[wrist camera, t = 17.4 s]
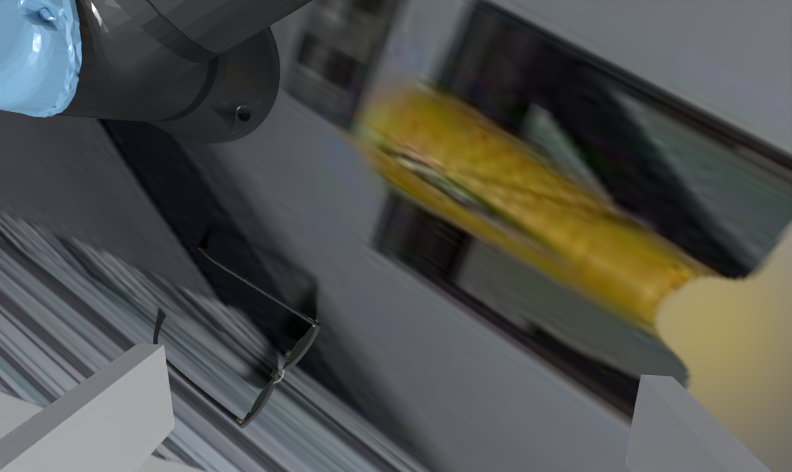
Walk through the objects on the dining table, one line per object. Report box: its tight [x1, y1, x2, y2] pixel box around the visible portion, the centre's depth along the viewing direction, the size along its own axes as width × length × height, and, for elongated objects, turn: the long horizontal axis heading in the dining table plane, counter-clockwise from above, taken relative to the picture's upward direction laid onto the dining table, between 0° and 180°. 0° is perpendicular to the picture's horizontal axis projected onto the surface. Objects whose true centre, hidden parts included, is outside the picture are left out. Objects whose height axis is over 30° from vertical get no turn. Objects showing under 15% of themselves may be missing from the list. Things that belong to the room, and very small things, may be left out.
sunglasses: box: [153, 247, 321, 428], centre depth 44 cm, size 16×17×5 cm
